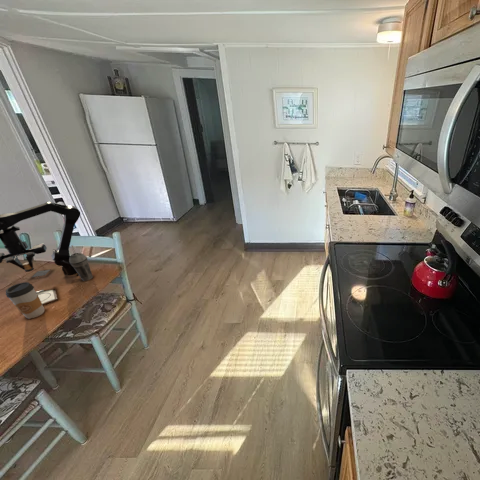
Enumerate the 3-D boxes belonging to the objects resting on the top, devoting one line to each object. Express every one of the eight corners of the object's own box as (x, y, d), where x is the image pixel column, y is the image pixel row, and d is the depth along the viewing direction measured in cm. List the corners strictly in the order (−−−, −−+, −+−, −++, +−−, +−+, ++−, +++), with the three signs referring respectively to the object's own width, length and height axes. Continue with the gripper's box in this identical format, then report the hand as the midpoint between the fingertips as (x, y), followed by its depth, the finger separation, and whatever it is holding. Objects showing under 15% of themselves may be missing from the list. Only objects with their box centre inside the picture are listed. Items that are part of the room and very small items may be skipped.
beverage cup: (77, 283, 140) (59, 251, 131) (81, 276, 146) (64, 244, 136) (94, 280, 143) (78, 247, 134) (97, 273, 149) (82, 241, 139)
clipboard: (54, 287, 137) (53, 285, 137) (57, 299, 129) (56, 297, 128) (22, 298, 130) (20, 296, 129) (23, 312, 121) (21, 310, 120)
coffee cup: (18, 322, 115) (-1, 295, 108) (28, 310, 122) (10, 284, 115) (43, 317, 118) (25, 290, 111) (51, 305, 125) (35, 279, 118)
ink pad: (53, 270, 152) (52, 268, 151) (46, 276, 146) (45, 275, 146) (37, 272, 150) (37, 271, 150) (30, 279, 144) (29, 278, 144)
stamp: (35, 267, 136) (31, 261, 134) (32, 271, 134) (27, 264, 132) (27, 269, 135) (23, 262, 134) (24, 272, 133) (19, 265, 131)
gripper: (39, 230, 137) (54, 255, 145) (-13, 240, 127) (5, 268, 135) (37, 237, 130) (52, 264, 137) (-20, 249, 119) (0, 278, 127)
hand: (28, 268), depth 134 cm, fingers closed on stamp, 2 cm apart
